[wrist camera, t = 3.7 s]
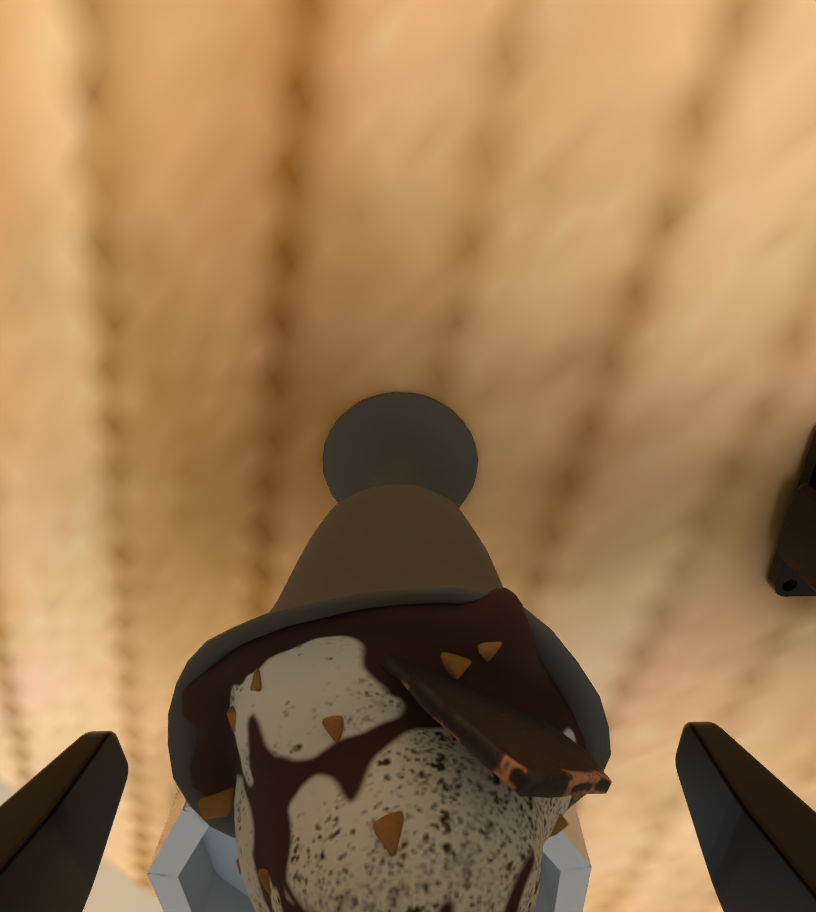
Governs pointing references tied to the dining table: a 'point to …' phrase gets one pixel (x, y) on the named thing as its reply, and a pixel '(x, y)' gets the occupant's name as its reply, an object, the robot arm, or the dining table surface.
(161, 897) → the grey polygonal tray
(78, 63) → the dining table surface
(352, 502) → the sundae
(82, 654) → the dining table surface
